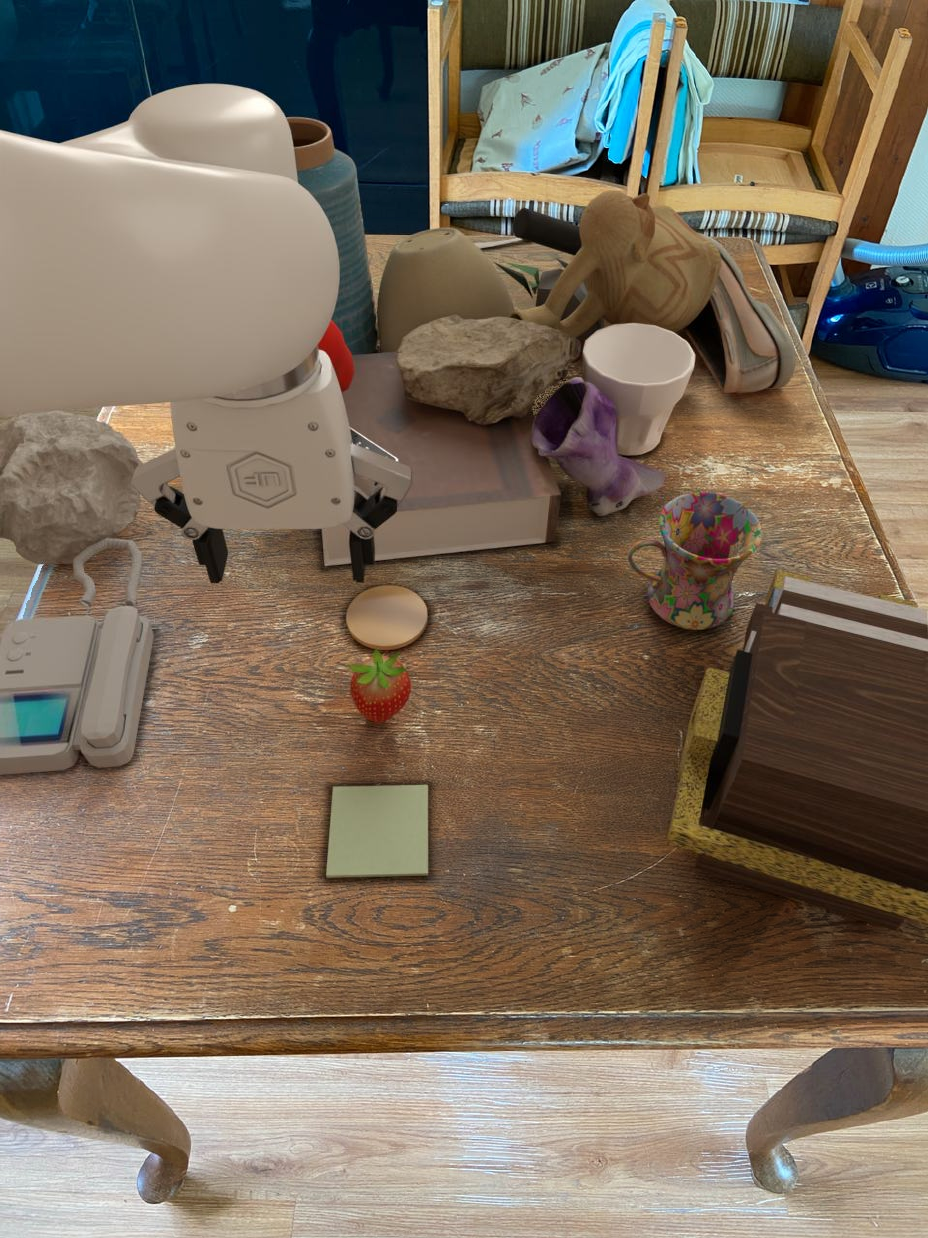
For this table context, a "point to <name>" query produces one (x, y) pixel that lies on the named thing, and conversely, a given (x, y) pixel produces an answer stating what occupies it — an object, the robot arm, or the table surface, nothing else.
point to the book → (447, 473)
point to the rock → (483, 365)
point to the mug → (699, 558)
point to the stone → (64, 484)
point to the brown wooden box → (816, 755)
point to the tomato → (338, 355)
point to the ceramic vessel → (632, 269)
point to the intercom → (75, 680)
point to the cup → (638, 379)
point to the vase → (339, 228)
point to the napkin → (378, 831)
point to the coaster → (386, 617)
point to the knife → (495, 243)
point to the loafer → (741, 335)
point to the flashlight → (547, 231)
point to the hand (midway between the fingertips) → (290, 568)
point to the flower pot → (436, 284)
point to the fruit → (380, 687)
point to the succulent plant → (545, 288)
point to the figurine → (591, 447)
